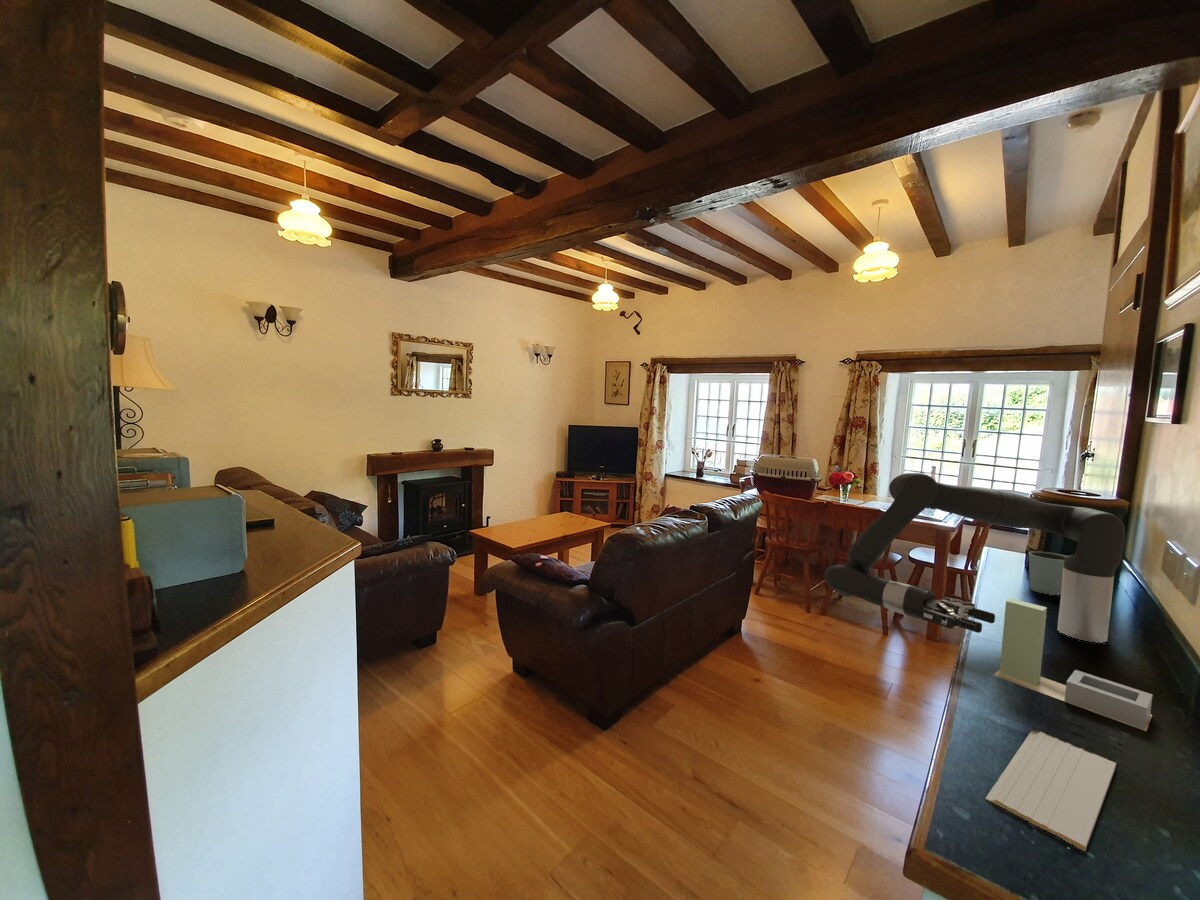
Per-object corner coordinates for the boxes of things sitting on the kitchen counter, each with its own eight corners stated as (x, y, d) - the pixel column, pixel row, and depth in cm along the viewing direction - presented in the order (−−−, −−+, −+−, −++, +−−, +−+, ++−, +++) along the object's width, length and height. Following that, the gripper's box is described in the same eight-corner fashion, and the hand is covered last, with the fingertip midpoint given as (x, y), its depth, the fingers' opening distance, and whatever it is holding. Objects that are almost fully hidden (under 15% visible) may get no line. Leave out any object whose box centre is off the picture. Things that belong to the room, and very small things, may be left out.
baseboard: (972, 797, 72) (1084, 857, 63) (974, 779, 72) (1086, 836, 63) (1027, 720, 91) (1120, 757, 81) (1028, 705, 91) (1122, 741, 81)
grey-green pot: (1071, 599, 151) (1075, 562, 150) (1028, 592, 157) (1032, 556, 156) (1063, 589, 160) (1066, 554, 159) (1022, 583, 165) (1026, 549, 164)
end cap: (1073, 688, 99) (1075, 669, 99) (1150, 714, 91) (1152, 694, 91) (1064, 700, 95) (1066, 681, 95) (1144, 729, 86) (1146, 708, 86)
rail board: (1004, 668, 109) (1004, 664, 108) (1151, 720, 91) (1152, 715, 91) (992, 679, 104) (992, 675, 104) (1145, 736, 86) (1146, 730, 86)
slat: (1003, 668, 107) (1010, 598, 105) (1039, 681, 102) (1047, 607, 100) (999, 672, 105) (1006, 601, 104) (1035, 685, 100) (1043, 610, 99)
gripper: (896, 591, 116) (978, 614, 103) (920, 579, 124) (999, 600, 111) (894, 621, 117) (975, 648, 104) (918, 608, 125) (997, 631, 112)
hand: (988, 623), depth 108 cm, fingers open, 8 cm apart
